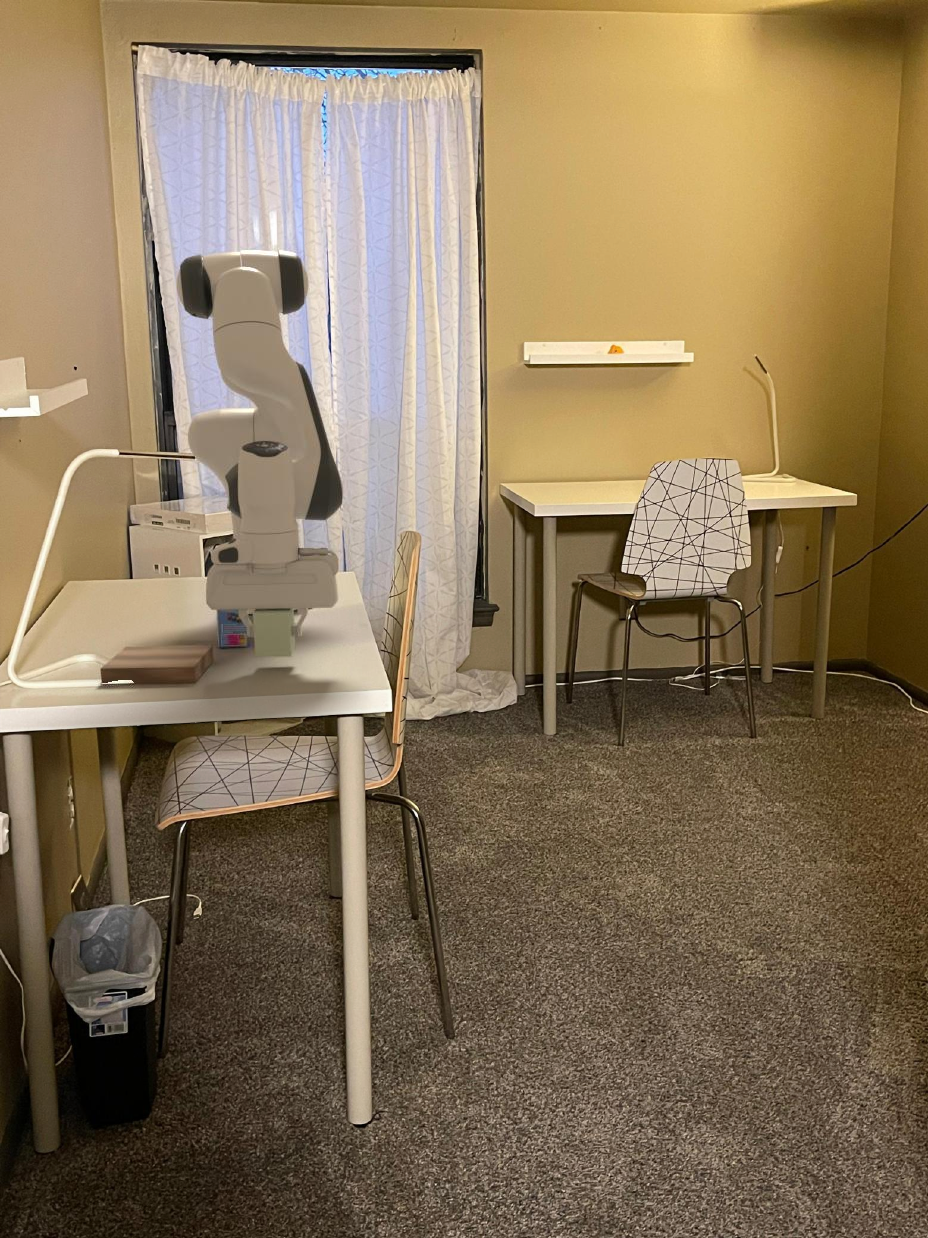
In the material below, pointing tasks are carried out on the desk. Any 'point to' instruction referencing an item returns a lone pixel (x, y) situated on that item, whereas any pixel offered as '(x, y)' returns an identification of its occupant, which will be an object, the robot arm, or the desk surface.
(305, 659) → the desk surface
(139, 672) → the walnut base
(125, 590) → the desk surface
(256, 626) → the sage block
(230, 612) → the ink cartridge box
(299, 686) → the desk surface
